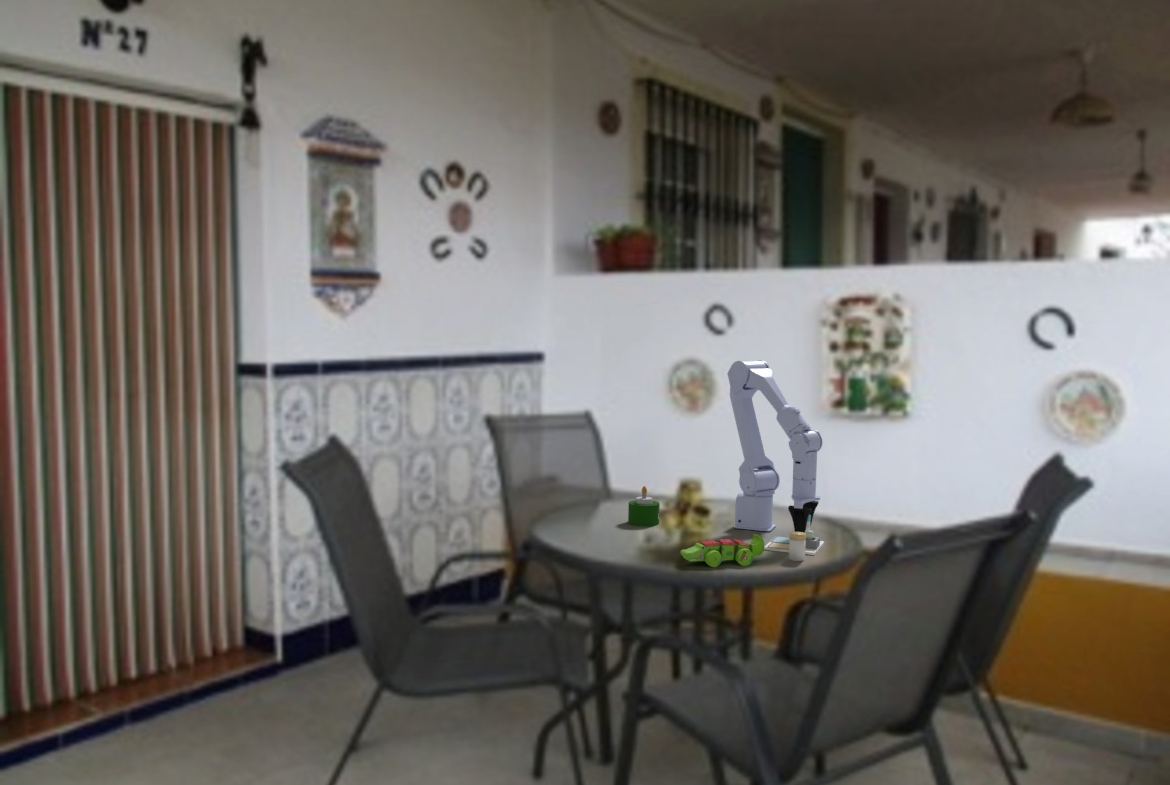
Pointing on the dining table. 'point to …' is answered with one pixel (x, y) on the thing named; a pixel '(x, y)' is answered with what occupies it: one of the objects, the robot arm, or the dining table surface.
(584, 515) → the dining table surface
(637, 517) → the candle
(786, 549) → the picture board
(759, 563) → the dining table surface
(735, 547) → the toy crocodile
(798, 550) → the jar with tan lid
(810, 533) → the button
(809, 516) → the jar with teal lid
